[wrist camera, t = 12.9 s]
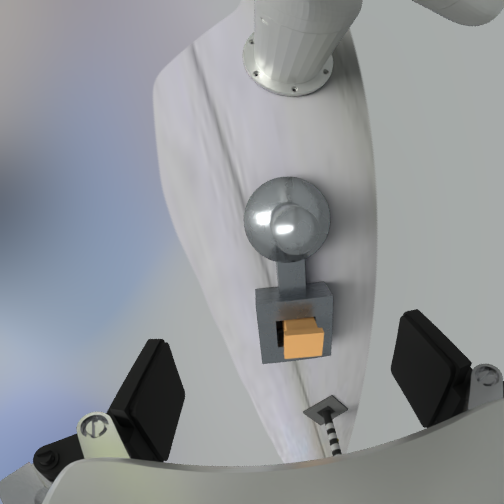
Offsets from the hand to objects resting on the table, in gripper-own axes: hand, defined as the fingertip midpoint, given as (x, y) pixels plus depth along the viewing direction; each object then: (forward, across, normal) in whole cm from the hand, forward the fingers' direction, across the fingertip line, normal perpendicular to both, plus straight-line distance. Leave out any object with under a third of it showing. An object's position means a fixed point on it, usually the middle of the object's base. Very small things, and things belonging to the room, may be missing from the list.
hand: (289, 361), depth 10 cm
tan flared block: (+28, -3, +14) cm, 32 cm away
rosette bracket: (+28, -3, +6) cm, 29 cm away
